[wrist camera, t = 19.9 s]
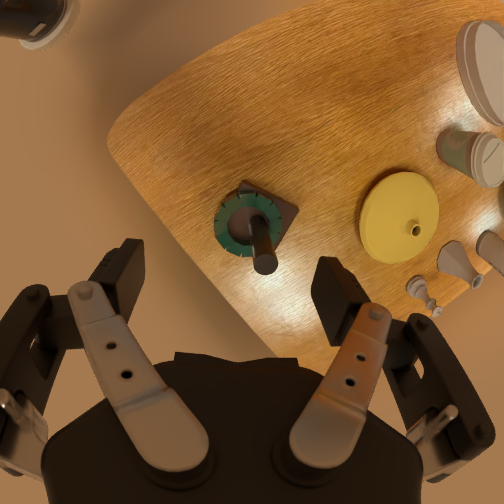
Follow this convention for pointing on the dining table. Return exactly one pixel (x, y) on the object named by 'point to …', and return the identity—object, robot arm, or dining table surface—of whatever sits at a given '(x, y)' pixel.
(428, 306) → the chess piece
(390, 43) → the dining table surface
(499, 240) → the travel mug
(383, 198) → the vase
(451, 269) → the flask
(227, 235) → the green segmented ring
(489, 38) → the dish
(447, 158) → the coffee cup
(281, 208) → the holder
